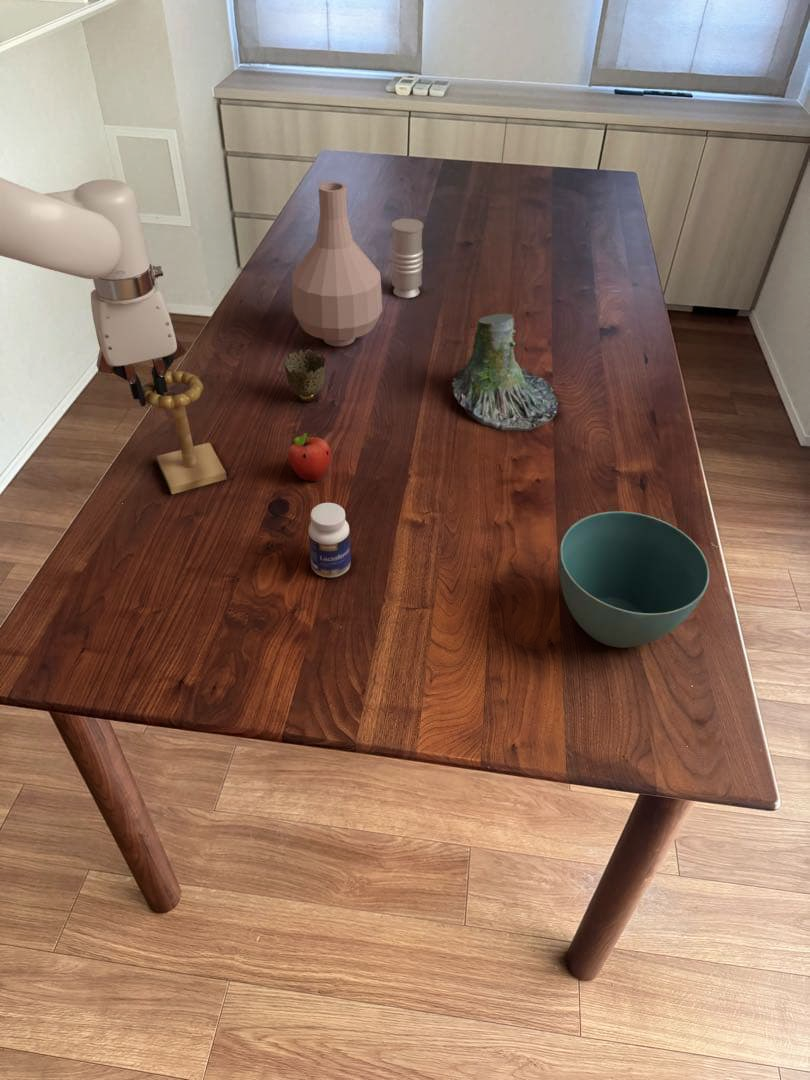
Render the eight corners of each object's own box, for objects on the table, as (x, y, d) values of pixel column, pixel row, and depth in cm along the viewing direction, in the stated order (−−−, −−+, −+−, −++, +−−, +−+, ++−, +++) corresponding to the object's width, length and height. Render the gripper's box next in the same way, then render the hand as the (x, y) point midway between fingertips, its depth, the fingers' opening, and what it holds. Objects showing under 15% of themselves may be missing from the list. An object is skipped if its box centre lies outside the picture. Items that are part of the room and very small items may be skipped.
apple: (287, 466, 131) (281, 415, 124) (328, 460, 132) (324, 410, 125) (294, 495, 125) (289, 444, 119) (336, 489, 127) (334, 437, 120)
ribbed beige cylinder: (420, 284, 181) (422, 218, 170) (422, 298, 176) (424, 231, 165) (390, 284, 180) (390, 218, 170) (391, 298, 175) (391, 231, 165)
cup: (336, 398, 146) (334, 359, 140) (306, 414, 142) (302, 375, 136) (309, 383, 150) (306, 344, 144) (279, 398, 146) (274, 359, 140)
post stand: (171, 494, 125) (154, 423, 116) (157, 463, 131) (140, 393, 122) (227, 479, 128) (214, 408, 119) (210, 449, 134) (197, 379, 125)
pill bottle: (322, 584, 111) (318, 532, 104) (304, 560, 115) (298, 508, 108) (358, 569, 114) (356, 517, 107) (339, 546, 117) (336, 494, 110)
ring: (151, 416, 115) (149, 405, 114) (136, 387, 121) (134, 376, 119) (210, 402, 118) (209, 391, 117) (193, 374, 124) (191, 364, 123)
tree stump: (499, 447, 136) (488, 347, 127) (434, 416, 151) (420, 325, 142) (579, 410, 143) (574, 313, 133) (510, 384, 158) (501, 295, 149)
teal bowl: (664, 574, 114) (685, 510, 105) (701, 677, 100) (730, 613, 92) (538, 575, 113) (549, 510, 105) (558, 679, 100) (574, 614, 91)
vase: (313, 312, 170) (303, 165, 149) (392, 324, 167) (393, 175, 146) (282, 352, 158) (267, 198, 137) (367, 366, 154) (364, 210, 134)
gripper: (175, 260, 111) (197, 375, 123) (56, 281, 105) (91, 399, 118) (190, 281, 106) (211, 399, 118) (66, 304, 100) (101, 425, 113)
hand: (151, 398), depth 118 cm, fingers closed on ring, 2 cm apart
